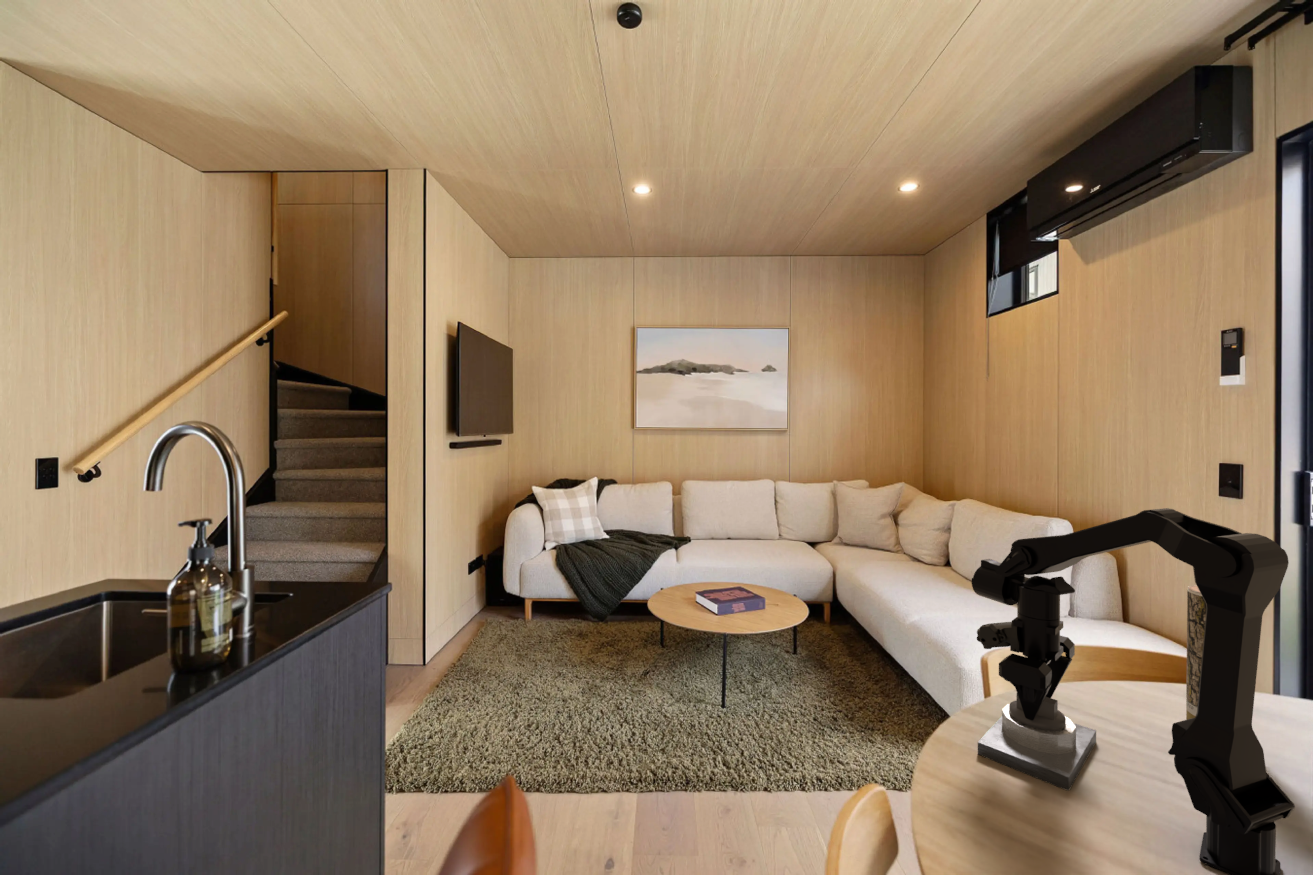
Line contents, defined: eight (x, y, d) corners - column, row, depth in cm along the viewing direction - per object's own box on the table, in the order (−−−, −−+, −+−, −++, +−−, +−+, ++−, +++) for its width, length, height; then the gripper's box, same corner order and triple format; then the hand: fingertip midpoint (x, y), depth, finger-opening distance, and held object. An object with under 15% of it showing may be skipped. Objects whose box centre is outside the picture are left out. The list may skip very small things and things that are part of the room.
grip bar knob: (1058, 753, 85) (1058, 713, 84) (1002, 733, 90) (1002, 695, 90) (1070, 734, 90) (1071, 697, 89) (1017, 716, 95) (1017, 681, 95)
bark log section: (1195, 745, 90) (1196, 594, 90) (1179, 724, 96) (1180, 583, 96) (1252, 756, 87) (1254, 599, 86) (1232, 734, 93) (1234, 588, 92)
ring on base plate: (1068, 790, 79) (1068, 756, 79) (977, 754, 88) (977, 723, 88) (1096, 741, 91) (1096, 712, 91) (1013, 714, 100) (1013, 687, 100)
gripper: (1001, 591, 102) (1001, 674, 102) (963, 615, 89) (963, 710, 90) (1075, 605, 93) (1075, 696, 94) (1044, 634, 81) (1044, 738, 81)
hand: (1038, 708), depth 90 cm, fingers open, 9 cm apart
